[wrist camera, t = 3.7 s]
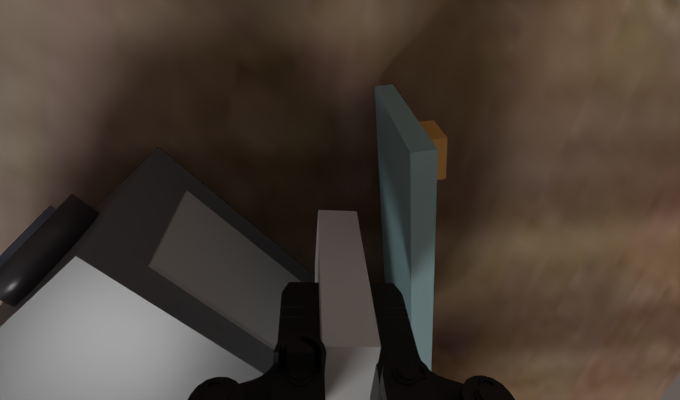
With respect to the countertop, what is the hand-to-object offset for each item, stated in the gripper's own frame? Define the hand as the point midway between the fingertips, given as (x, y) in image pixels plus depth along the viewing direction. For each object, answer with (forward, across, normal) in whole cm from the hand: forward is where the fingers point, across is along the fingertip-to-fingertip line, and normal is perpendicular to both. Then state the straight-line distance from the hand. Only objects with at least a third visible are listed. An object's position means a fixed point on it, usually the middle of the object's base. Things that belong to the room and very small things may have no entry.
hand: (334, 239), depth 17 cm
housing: (+5, -6, -8) cm, 11 cm away
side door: (+4, +4, -2) cm, 6 cm away
